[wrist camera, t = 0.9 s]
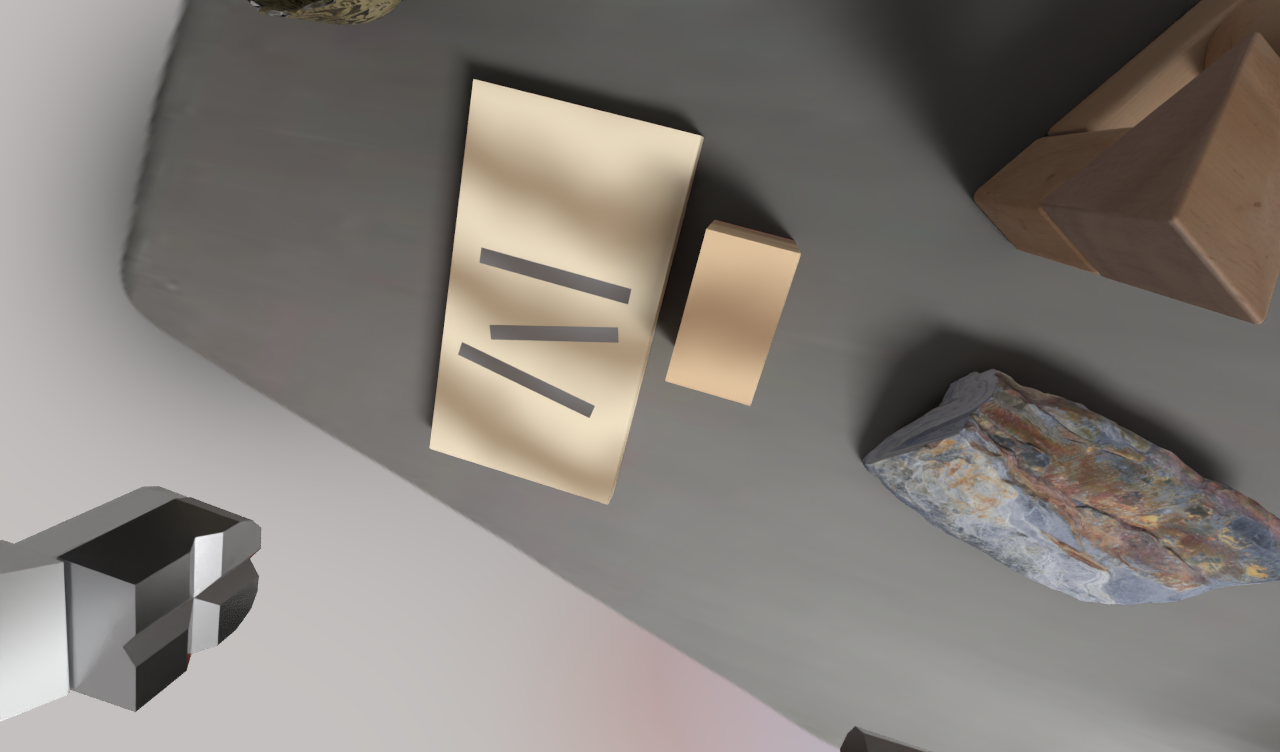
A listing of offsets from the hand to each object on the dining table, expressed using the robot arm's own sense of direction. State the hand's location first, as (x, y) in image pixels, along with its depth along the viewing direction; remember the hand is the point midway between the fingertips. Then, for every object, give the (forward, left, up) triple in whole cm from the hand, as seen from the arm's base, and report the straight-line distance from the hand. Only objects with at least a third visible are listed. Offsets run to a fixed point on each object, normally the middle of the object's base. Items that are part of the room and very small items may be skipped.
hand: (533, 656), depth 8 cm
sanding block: (0, +2, -25) cm, 25 cm away
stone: (+5, +20, -25) cm, 32 cm away
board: (+3, -7, -25) cm, 26 cm away
